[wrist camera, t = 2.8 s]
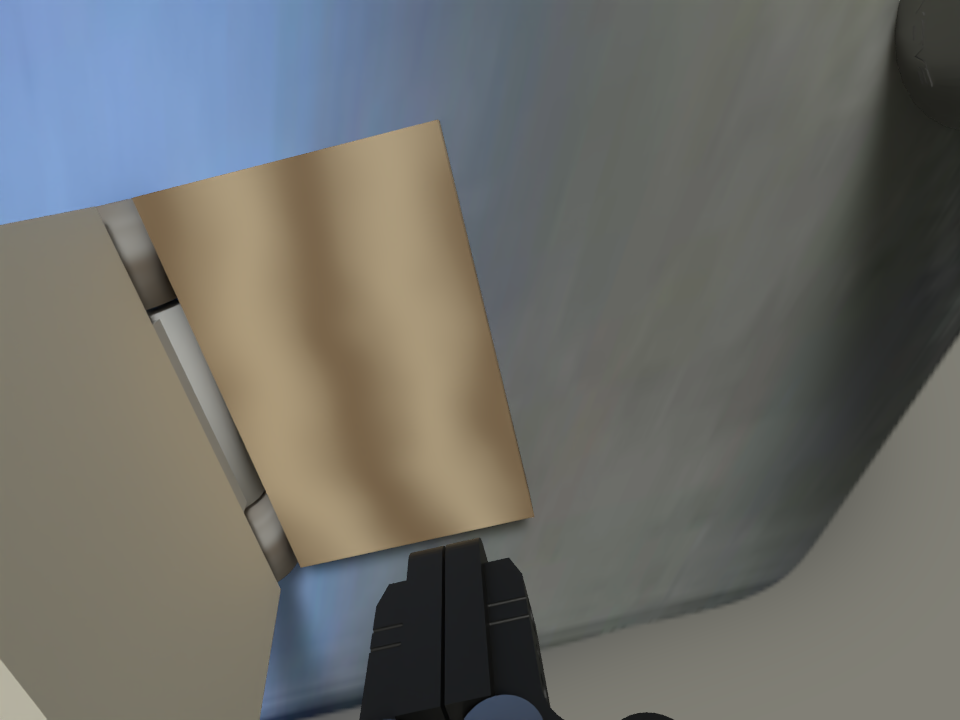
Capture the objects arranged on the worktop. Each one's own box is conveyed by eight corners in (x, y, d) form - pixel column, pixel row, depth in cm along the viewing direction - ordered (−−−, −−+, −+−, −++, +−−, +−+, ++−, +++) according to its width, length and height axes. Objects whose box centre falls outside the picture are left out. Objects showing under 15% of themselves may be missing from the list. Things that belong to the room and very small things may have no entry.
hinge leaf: (74, 213, 23) (145, 195, 23) (246, 557, 29) (299, 540, 30) (-474, 327, 8) (-248, 270, 8) (136, 978, 14) (245, 934, 15)
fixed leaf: (439, 120, 22) (437, 118, 20) (529, 490, 29) (536, 528, 26) (82, 211, 23) (31, 223, 20) (250, 552, 30) (230, 595, 27)
